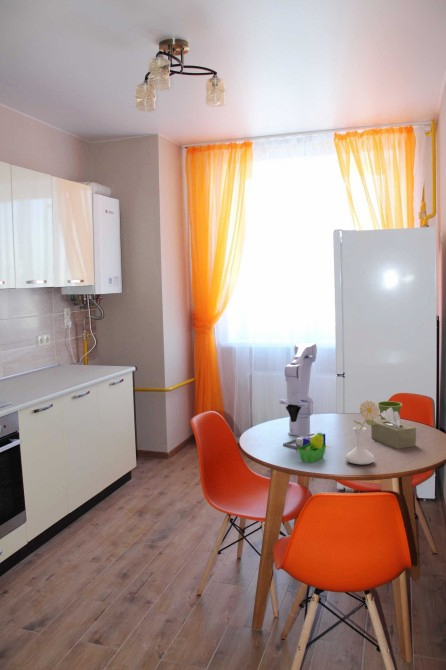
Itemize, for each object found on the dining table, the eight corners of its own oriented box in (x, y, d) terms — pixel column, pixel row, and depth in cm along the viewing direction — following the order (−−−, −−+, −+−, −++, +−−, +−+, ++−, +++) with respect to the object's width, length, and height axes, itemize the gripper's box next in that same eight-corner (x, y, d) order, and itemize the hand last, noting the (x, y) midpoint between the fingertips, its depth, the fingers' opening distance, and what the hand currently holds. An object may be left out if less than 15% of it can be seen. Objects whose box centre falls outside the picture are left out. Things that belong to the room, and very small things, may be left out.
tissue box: (370, 438, 251) (370, 404, 249) (388, 435, 254) (388, 402, 253) (398, 449, 233) (398, 412, 232) (416, 446, 237) (416, 410, 235)
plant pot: (372, 425, 273) (372, 402, 272) (390, 421, 278) (390, 400, 277) (388, 430, 262) (388, 407, 261) (407, 427, 267) (407, 404, 266)
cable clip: (317, 445, 241) (316, 432, 241) (325, 447, 238) (325, 433, 238) (300, 451, 233) (300, 437, 233) (308, 453, 230) (308, 439, 229)
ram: (296, 447, 239) (296, 438, 239) (304, 444, 243) (304, 435, 243) (304, 449, 236) (304, 440, 235) (313, 446, 240) (312, 437, 240)
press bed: (278, 447, 240) (278, 445, 240) (299, 439, 251) (299, 437, 251) (309, 455, 228) (309, 452, 228) (330, 446, 239) (330, 444, 239)
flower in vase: (345, 466, 213) (345, 403, 210) (344, 457, 224) (344, 397, 222) (380, 467, 210) (380, 403, 208) (377, 458, 221) (377, 397, 219)
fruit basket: (311, 453, 230) (310, 427, 229) (330, 457, 224) (329, 430, 223) (296, 461, 221) (296, 433, 220) (316, 465, 216) (315, 437, 215)
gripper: (274, 391, 246) (275, 420, 248) (300, 395, 236) (301, 425, 237) (284, 388, 251) (285, 417, 253) (310, 392, 241) (311, 422, 242)
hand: (293, 421), depth 245 cm, fingers closed
